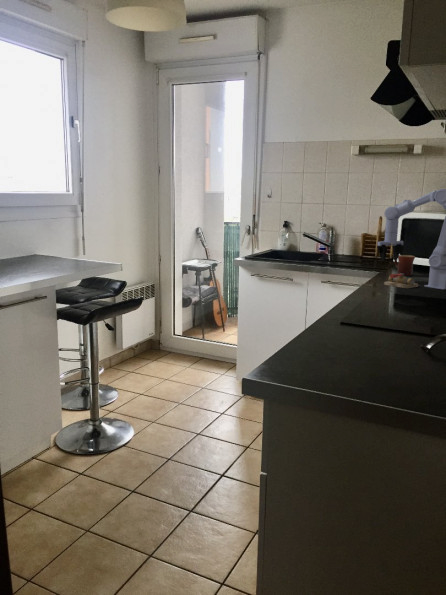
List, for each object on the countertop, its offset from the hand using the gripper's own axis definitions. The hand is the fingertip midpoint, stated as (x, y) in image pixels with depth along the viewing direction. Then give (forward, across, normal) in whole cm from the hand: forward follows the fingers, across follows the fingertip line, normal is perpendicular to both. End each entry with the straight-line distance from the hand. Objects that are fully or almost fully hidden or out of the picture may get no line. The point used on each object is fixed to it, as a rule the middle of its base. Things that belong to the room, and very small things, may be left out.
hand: (389, 260), depth 243 cm
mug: (+10, -21, -12) cm, 26 cm away
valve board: (+10, +4, +13) cm, 17 cm away
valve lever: (+6, +7, +14) cm, 17 cm away
